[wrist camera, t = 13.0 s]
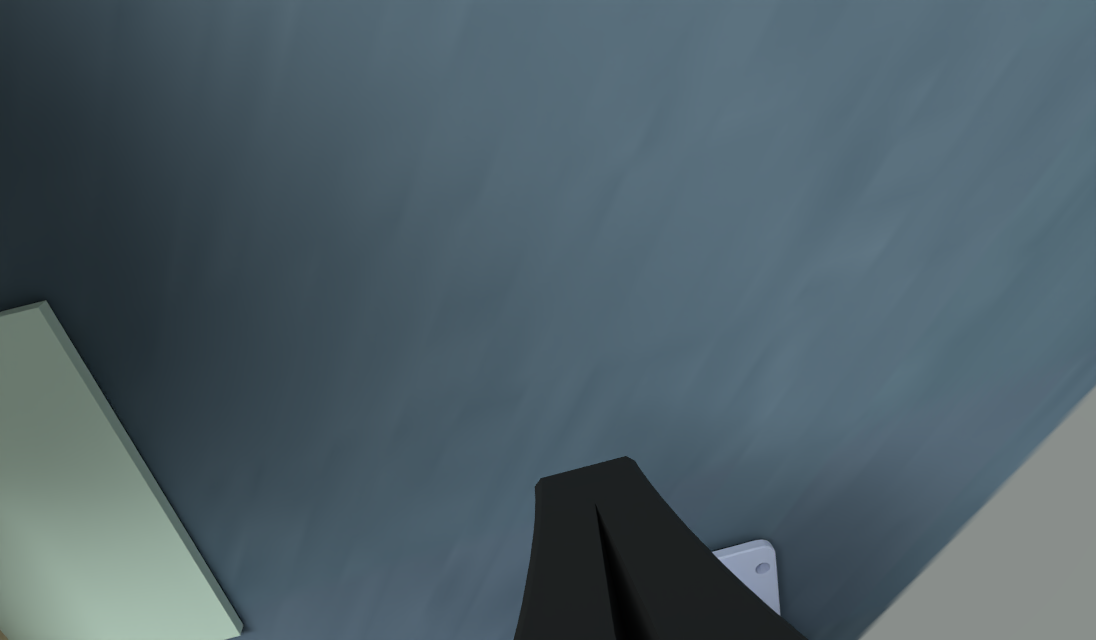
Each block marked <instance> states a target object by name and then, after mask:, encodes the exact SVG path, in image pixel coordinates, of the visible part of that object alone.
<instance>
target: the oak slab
mask: <svg viewBox="0 0 1096 640" xmlns="http://www.w3.org/2000/svg"><path fill="white" fill-rule="evenodd" d="M0 640H8V638H7V637H6V636H5V635H4V634H3V633H2V631H1V630H0Z"/></svg>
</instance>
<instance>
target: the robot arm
mask: <svg viewBox="0 0 1096 640" xmlns="http://www.w3.org/2000/svg"><path fill="white" fill-rule="evenodd" d="M761 563H762V564H761ZM759 564H760V565H759ZM514 640H808V639H807V638H806V637H804V636H803V635H802V634H801V633H800V632H798V631H797V630H796V629H795V628H794V627H792V626H791V625H790V624H789V623H788V622H787V621H785V620H784V619H783V618H782V617H781V616H780V603H779V590H778V578H777V565H776V553H775V550H774V548H773V547H772V545H771V543H770V542H768V541H767V540H763V539H761V540H755V541H751V542H747V543H743V544H740V545H736V546H732V547H728V548H725V549H721V550H717V551H713V552H711V551H710V550H709V549H708V548H707V547H706V546H705V545H704V544H703V543H702V542H701V541H700V540H699V538H698V537H697V536H696V535H695V534H694V533H693V532H692V531H691V530H690V529H689V528H688V527H687V526H686V525H685V524H684V523H683V521H682V520H681V519H680V518H679V517H678V516H677V515H676V514H675V512H674V511H673V510H672V509H671V508H670V507H669V505H668V504H667V503H666V502H665V501H664V500H663V498H662V497H661V496H660V495H659V493H658V492H657V491H656V490H655V488H654V487H653V486H652V485H651V483H650V482H649V481H648V479H647V478H646V477H645V475H644V474H643V472H642V471H641V470H640V468H639V467H638V465H637V463H636V462H635V461H634V460H632V459H631V458H629V457H627V456H625V457H621V458H617V459H613V460H609V461H605V462H602V463H598V464H594V465H590V466H586V467H582V468H579V469H575V470H571V471H567V472H563V473H560V474H556V475H552V476H548V477H544V478H541V479H540V480H539V482H538V483H537V484H536V486H535V523H534V534H533V542H532V549H531V557H530V563H529V569H528V574H527V580H526V585H525V591H524V596H523V602H522V607H521V611H520V616H519V620H518V624H517V628H516V632H515V636H514Z"/></svg>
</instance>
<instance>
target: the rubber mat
mask: <svg viewBox="0 0 1096 640" xmlns="http://www.w3.org/2000/svg"><path fill="white" fill-rule="evenodd" d="M242 628H243V624H242V622H241V620H240V619H239V617H238V615H237V614H236V612H235V610H234V609H233V607H232V606H231V604H230V602H229V601H228V599H227V597H226V596H225V594H224V592H223V591H222V589H221V587H220V586H219V584H218V583H217V581H216V579H215V578H214V576H213V574H212V573H211V571H210V569H209V568H208V566H207V564H206V563H205V561H204V559H203V558H202V556H201V555H200V553H199V551H198V550H197V548H196V546H195V545H194V543H193V541H192V540H191V538H190V536H189V535H188V533H187V531H186V530H185V528H184V527H183V525H182V523H181V522H180V520H179V518H178V517H177V515H176V513H175V512H174V510H173V508H172V507H171V505H170V503H169V502H168V500H167V499H166V497H165V495H164V494H163V492H162V490H161V489H160V487H159V485H158V484H157V482H156V480H155V479H154V477H153V476H152V474H151V472H150V471H149V469H148V467H147V466H146V464H145V462H144V461H143V459H142V457H141V456H140V454H139V452H138V451H137V449H136V448H135V446H134V444H133V443H132V441H131V439H130V438H129V436H128V434H127V433H126V431H125V429H124V428H123V426H122V424H121V423H120V421H119V420H118V418H117V416H116V415H115V413H114V411H113V410H112V408H111V406H110V405H109V403H108V401H107V400H106V398H105V396H104V395H103V393H102V392H101V390H100V388H99V387H98V385H97V383H96V382H95V380H94V378H93V377H92V375H91V373H90V372H89V370H88V369H87V367H86V365H85V364H84V362H83V360H82V359H81V357H80V355H79V354H78V352H77V350H76V349H75V347H74V345H73V344H72V342H71V341H70V339H69V337H68V336H67V334H66V332H65V331H64V329H63V327H62V326H61V324H60V322H59V321H58V319H57V317H56V316H55V314H54V313H53V311H52V309H51V308H50V306H49V304H48V303H47V301H46V300H45V301H41V302H37V303H33V304H29V305H25V306H21V307H17V308H13V309H9V310H5V311H1V312H0V630H1V631H2V633H3V634H4V635H5V636H6V637H7V638H8V640H225V639H229V638H233V637H236V636H240V635H241V632H242Z"/></svg>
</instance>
